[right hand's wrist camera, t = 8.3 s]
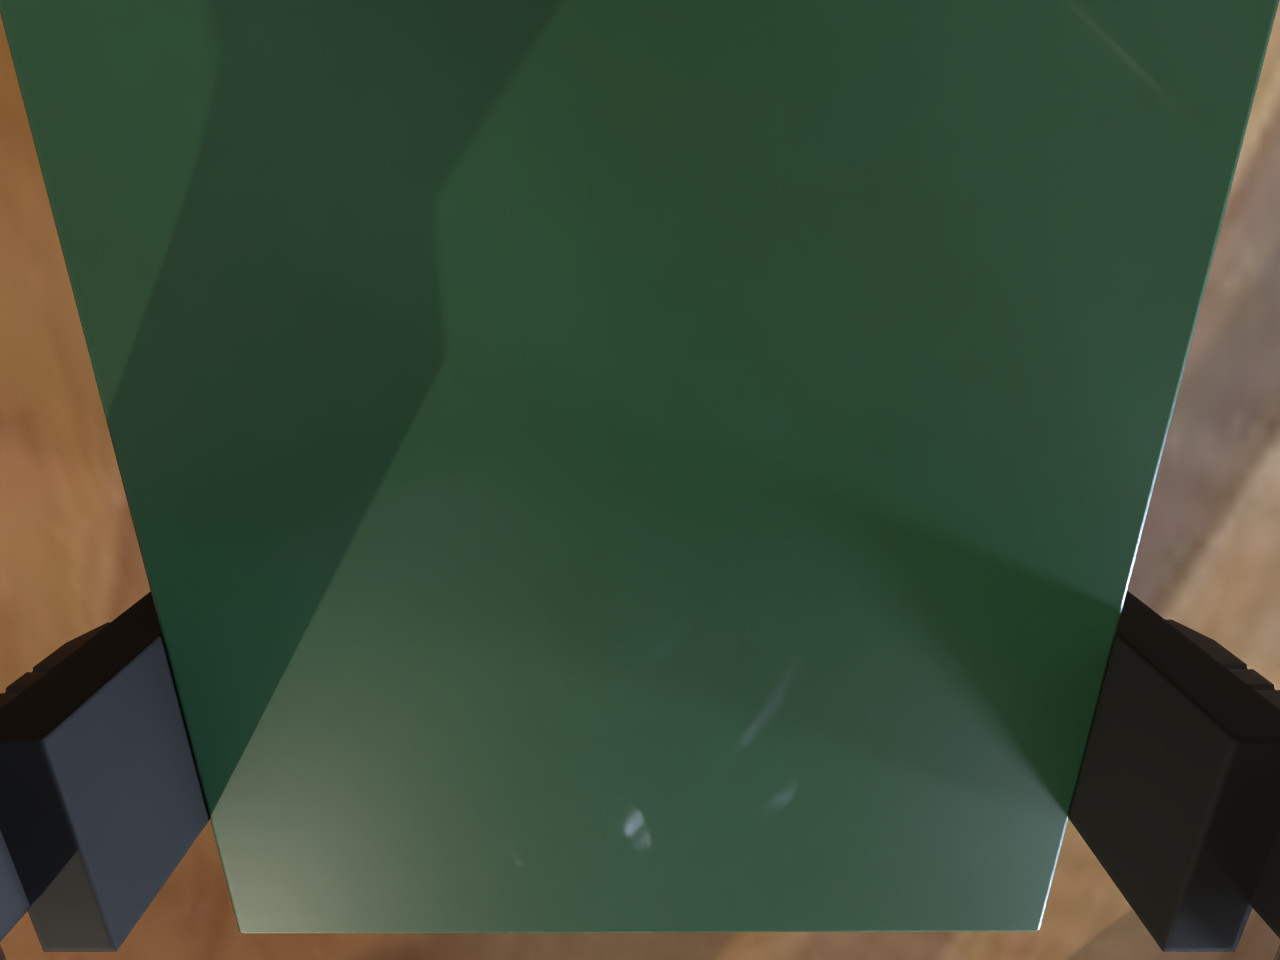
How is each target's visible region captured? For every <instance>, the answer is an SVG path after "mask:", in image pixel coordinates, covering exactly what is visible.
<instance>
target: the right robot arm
mask: <svg viewBox="0 0 1280 960" xmlns="http://www.w3.org/2000/svg"><path fill="white" fill-rule="evenodd" d="M1246 666H1247V664H1245V663H1244V662H1243V661H1241V660H1240V659H1239V658H1237V657H1236V656H1235V655H1233V654H1232V653H1231V652H1229V651H1228V650H1226V649H1225V648H1224V647H1222V646H1221V645H1220V644H1218V643H1217V642H1216V641H1214V640H1213V639H1210V638H1208V637H1206V636H1204V635H1202V634H1200V633H1198V632H1196V631H1194V630H1192V629H1190V628H1188V627H1186V626H1184V625H1182V624H1180V623H1177V622H1175V621H1173V620H1164V619H1163V618H1162V617H1161V616H1159V615H1158V614H1157V613H1155V612H1154V611H1153V610H1152V609H1150V608H1149V607H1148V606H1146V605H1145V604H1144V603H1143V602H1141V601H1140V600H1139V599H1137V598H1136V597H1135V596H1134V595H1132V594H1131V593H1130V592H1128V591H1127V593H1126V597H1125V601H1124V604H1123V608H1122V612H1121V616H1120V620H1119V624H1118V628H1117V632H1116V636H1115V639H1114V643H1113V647H1112V651H1111V655H1110V659H1109V663H1108V667H1107V670H1106V674H1105V678H1104V682H1103V686H1102V690H1101V694H1100V698H1099V702H1098V705H1097V709H1096V713H1095V717H1094V721H1093V725H1092V729H1091V733H1090V736H1089V740H1088V744H1087V748H1086V752H1085V756H1084V760H1083V764H1082V767H1081V771H1080V775H1079V779H1078V783H1077V787H1076V791H1075V795H1074V799H1073V802H1072V806H1071V810H1070V814H1069V819H1070V821H1071V822H1072V823H1073V825H1074V826H1075V828H1076V829H1077V831H1078V832H1079V833H1080V835H1081V836H1082V838H1083V839H1084V840H1085V842H1086V843H1087V845H1088V846H1089V848H1090V849H1091V850H1092V852H1093V853H1094V855H1095V856H1096V857H1097V859H1098V860H1099V862H1100V863H1101V865H1102V866H1103V867H1104V869H1105V870H1106V872H1107V873H1108V874H1109V876H1110V877H1111V879H1112V880H1113V882H1114V883H1115V884H1116V886H1117V887H1118V889H1119V890H1120V891H1121V893H1122V894H1123V896H1124V897H1125V899H1126V900H1127V901H1128V903H1129V904H1130V906H1131V907H1132V908H1133V910H1134V911H1135V913H1136V914H1137V916H1138V917H1139V918H1140V920H1141V921H1142V923H1143V924H1144V925H1145V927H1146V928H1147V930H1148V931H1149V933H1150V934H1151V935H1152V937H1153V938H1154V940H1155V941H1156V942H1157V944H1158V945H1159V947H1160V948H1161V950H1162V951H1196V952H1235V950H1236V948H1237V945H1238V943H1239V940H1240V938H1241V935H1242V933H1243V930H1244V928H1245V925H1246V922H1247V920H1248V917H1249V915H1250V912H1251V910H1252V907H1253V908H1254V910H1255V911H1256V912H1257V913H1258V914H1259V915H1260V916H1261V918H1262V919H1263V920H1264V921H1265V922H1266V923H1267V924H1268V926H1269V927H1270V928H1271V929H1272V930H1273V931H1274V932H1275V934H1276V935H1277V936H1278V937H1279V938H1280V690H1275V689H1274V685H1273V684H1272V683H1271V682H1269V681H1268V680H1267V679H1265V678H1264V677H1263V676H1261V675H1260V674H1259V673H1257V672H1256V671H1255V670H1253V669H1247V667H1246ZM209 819H210V816H209V813H208V809H207V805H206V801H205V797H204V793H203V790H202V786H201V782H200V778H199V774H198V770H197V766H196V763H195V759H194V755H193V751H192V747H191V743H190V740H189V736H188V732H187V728H186V724H185V720H184V716H183V713H182V709H181V705H180V701H179V697H178V693H177V690H176V686H175V682H174V678H173V674H172V670H171V666H170V663H169V659H168V655H167V651H166V647H165V643H164V640H163V636H162V632H161V628H160V624H159V620H158V617H157V613H156V609H155V605H154V601H153V597H152V593H151V592H149V593H148V594H147V595H145V596H144V597H143V598H142V599H140V600H139V601H138V602H137V603H135V604H134V605H133V606H131V607H130V608H129V609H128V610H126V611H125V612H124V613H122V614H121V615H120V616H119V617H117V618H116V619H115V620H113V621H112V622H108V623H106V624H104V625H102V626H100V627H98V628H96V629H94V630H91V631H89V632H87V633H85V634H83V635H81V636H79V637H77V638H75V639H73V640H71V641H69V642H67V643H65V644H64V645H62V646H61V647H60V648H58V649H57V650H56V651H54V652H53V653H52V654H51V655H49V656H48V657H47V658H45V659H44V660H43V661H41V662H40V663H39V664H37V665H36V666H35V667H33V672H27V673H25V674H24V675H23V676H21V677H20V678H19V679H17V680H16V681H15V682H13V683H12V684H11V685H9V686H8V687H7V688H6V692H5V693H0V942H1V940H2V939H3V938H4V937H5V936H6V935H7V934H8V932H9V931H10V930H11V929H12V928H13V927H14V925H15V924H16V923H17V922H18V921H19V920H20V919H21V917H22V916H23V915H24V914H25V913H26V912H27V911H28V913H29V915H30V918H31V920H32V923H33V925H34V928H35V930H36V933H37V935H38V938H39V940H40V943H41V946H42V948H43V951H44V952H116V951H117V950H118V948H119V947H120V946H121V944H122V943H123V941H124V940H125V938H126V937H127V936H128V934H129V933H130V931H131V930H132V929H133V927H134V926H135V924H136V923H137V921H138V920H139V919H140V917H141V916H142V914H143V913H144V912H145V910H146V909H147V907H148V906H149V904H150V903H151V902H152V900H153V899H154V897H155V896H156V895H157V893H158V892H159V890H160V889H161V887H162V886H163V885H164V883H165V882H166V880H167V879H168V878H169V876H170V875H171V873H172V872H173V870H174V869H175V868H176V866H177V865H178V863H179V862H180V861H181V859H182V858H183V856H184V855H185V853H186V852H187V851H188V849H189V848H190V846H191V845H192V844H193V842H194V841H195V839H196V838H197V836H198V835H199V834H200V832H201V831H202V829H203V828H204V827H205V825H206V824H207V822H208V821H209ZM0 960H6V958H5V955H4V953H3V951H2V948H1V946H0ZM1274 960H1280V946H1279V948H1278V951H1277V953H1276V955H1275V958H1274Z"/></svg>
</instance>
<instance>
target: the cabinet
mask: <svg viewBox="0 0 1280 960" xmlns="http://www.w3.org/2000/svg"><path fill="white" fill-rule="evenodd" d="M1278 3H1279V0H0V13H1V17H2V21H3V25H4V28H5V32H6V36H7V40H8V44H9V48H10V51H11V55H12V59H13V63H14V67H15V71H16V75H17V78H18V82H19V86H20V90H21V94H22V98H23V101H24V105H25V109H26V113H27V117H28V121H29V125H30V128H31V132H32V136H33V140H34V144H35V148H36V151H37V155H38V159H39V163H40V167H41V171H42V174H43V178H44V182H45V186H46V190H47V194H48V198H49V201H50V205H51V209H52V213H53V217H54V221H55V224H56V228H57V232H58V236H59V240H60V244H61V248H62V251H63V255H64V259H65V263H66V267H67V271H68V274H69V278H70V282H71V286H72V290H73V294H74V297H75V301H76V305H77V309H78V313H79V317H80V321H81V324H82V328H83V332H84V336H85V340H86V344H87V347H88V351H89V355H90V359H91V363H92V367H93V371H94V374H95V378H96V382H97V386H98V390H99V394H100V397H101V401H102V405H103V409H104V413H105V417H106V420H107V424H108V428H109V432H110V436H111V440H112V444H113V447H114V451H115V455H116V459H117V463H118V467H119V470H120V474H121V478H122V482H123V486H124V490H125V494H126V497H127V501H128V505H129V509H130V513H131V517H132V520H133V524H134V528H135V532H136V536H137V540H138V543H139V547H140V551H141V555H142V559H143V563H144V567H145V570H146V574H147V578H148V582H149V586H150V590H151V593H152V597H153V601H154V605H155V609H156V613H157V617H158V620H159V624H160V628H161V632H162V636H163V640H164V643H165V647H166V651H167V655H168V659H169V663H170V666H171V670H172V674H173V678H174V682H175V686H176V690H177V693H178V697H179V701H180V705H181V709H182V713H183V716H184V720H185V724H186V728H187V732H188V736H189V740H190V743H191V747H192V751H193V755H194V759H195V763H196V766H197V770H198V774H199V778H200V782H201V786H202V790H203V793H204V797H205V801H206V805H207V809H208V813H209V816H210V820H211V824H212V828H213V832H214V836H215V839H216V843H217V847H218V851H219V855H220V859H221V863H222V866H223V870H224V874H225V878H226V882H227V886H228V889H229V893H230V897H231V901H232V905H233V909H234V913H235V916H236V920H237V924H238V928H239V931H240V932H241V933H573V932H939V931H1037V930H1039V929H1040V927H1041V923H1042V919H1043V915H1044V911H1045V907H1046V903H1047V899H1048V896H1049V892H1050V888H1051V884H1052V880H1053V876H1054V872H1055V868H1056V865H1057V861H1058V857H1059V853H1060V849H1061V845H1062V841H1063V837H1064V833H1065V830H1066V826H1067V822H1068V818H1069V814H1070V810H1071V806H1072V802H1073V799H1074V795H1075V791H1076V787H1077V783H1078V779H1079V775H1080V771H1081V767H1082V764H1083V760H1084V756H1085V752H1086V748H1087V744H1088V740H1089V736H1090V733H1091V729H1092V725H1093V721H1094V717H1095V713H1096V709H1097V705H1098V702H1099V698H1100V694H1101V690H1102V686H1103V682H1104V678H1105V674H1106V670H1107V667H1108V663H1109V659H1110V655H1111V651H1112V647H1113V643H1114V639H1115V636H1116V632H1117V628H1118V624H1119V620H1120V616H1121V612H1122V608H1123V604H1124V601H1125V597H1126V593H1127V589H1128V585H1129V581H1130V577H1131V573H1132V570H1133V566H1134V562H1135V558H1136V554H1137V550H1138V546H1139V542H1140V539H1141V535H1142V531H1143V527H1144V523H1145V519H1146V515H1147V511H1148V507H1149V504H1150V500H1151V496H1152V492H1153V488H1154V484H1155V480H1156V476H1157V473H1158V469H1159V465H1160V461H1161V457H1162V453H1163V449H1164V445H1165V441H1166V438H1167V434H1168V430H1169V426H1170V422H1171V418H1172V414H1173V410H1174V407H1175V403H1176V399H1177V395H1178V391H1179V387H1180V383H1181V379H1182V376H1183V372H1184V368H1185V364H1186V360H1187V356H1188V352H1189V348H1190V344H1191V341H1192V337H1193V333H1194V329H1195V325H1196V321H1197V317H1198V313H1199V310H1200V306H1201V302H1202V298H1203V294H1204V290H1205V286H1206V282H1207V278H1208V275H1209V271H1210V267H1211V263H1212V259H1213V255H1214V251H1215V247H1216V244H1217V240H1218V236H1219V232H1220V228H1221V224H1222V220H1223V216H1224V213H1225V209H1226V205H1227V201H1228V197H1229V193H1230V189H1231V185H1232V181H1233V178H1234V174H1235V170H1236V166H1237V162H1238V158H1239V154H1240V150H1241V147H1242V143H1243V139H1244V135H1245V131H1246V127H1247V123H1248V119H1249V116H1250V112H1251V108H1252V104H1253V100H1254V96H1255V92H1256V88H1257V84H1258V81H1259V77H1260V73H1261V69H1262V65H1263V61H1264V57H1265V53H1266V50H1267V46H1268V42H1269V38H1270V34H1271V30H1272V26H1273V22H1274V18H1275V15H1276V11H1277V7H1278Z"/></svg>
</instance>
